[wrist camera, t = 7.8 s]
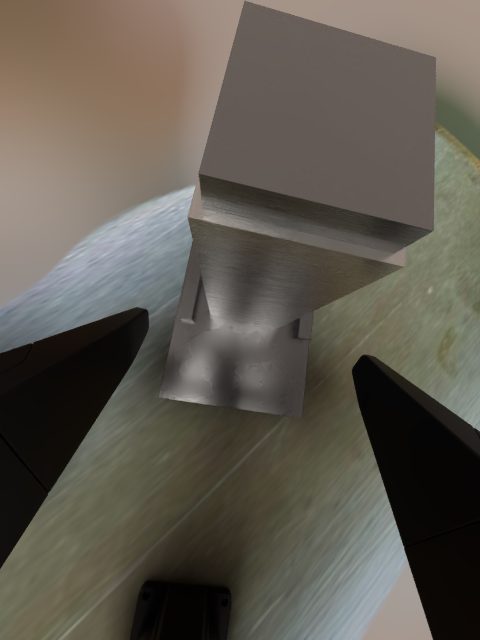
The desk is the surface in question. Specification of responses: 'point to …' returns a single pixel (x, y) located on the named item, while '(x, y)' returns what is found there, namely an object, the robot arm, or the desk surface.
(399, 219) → the block
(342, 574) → the desk surface
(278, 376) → the grey base plate
